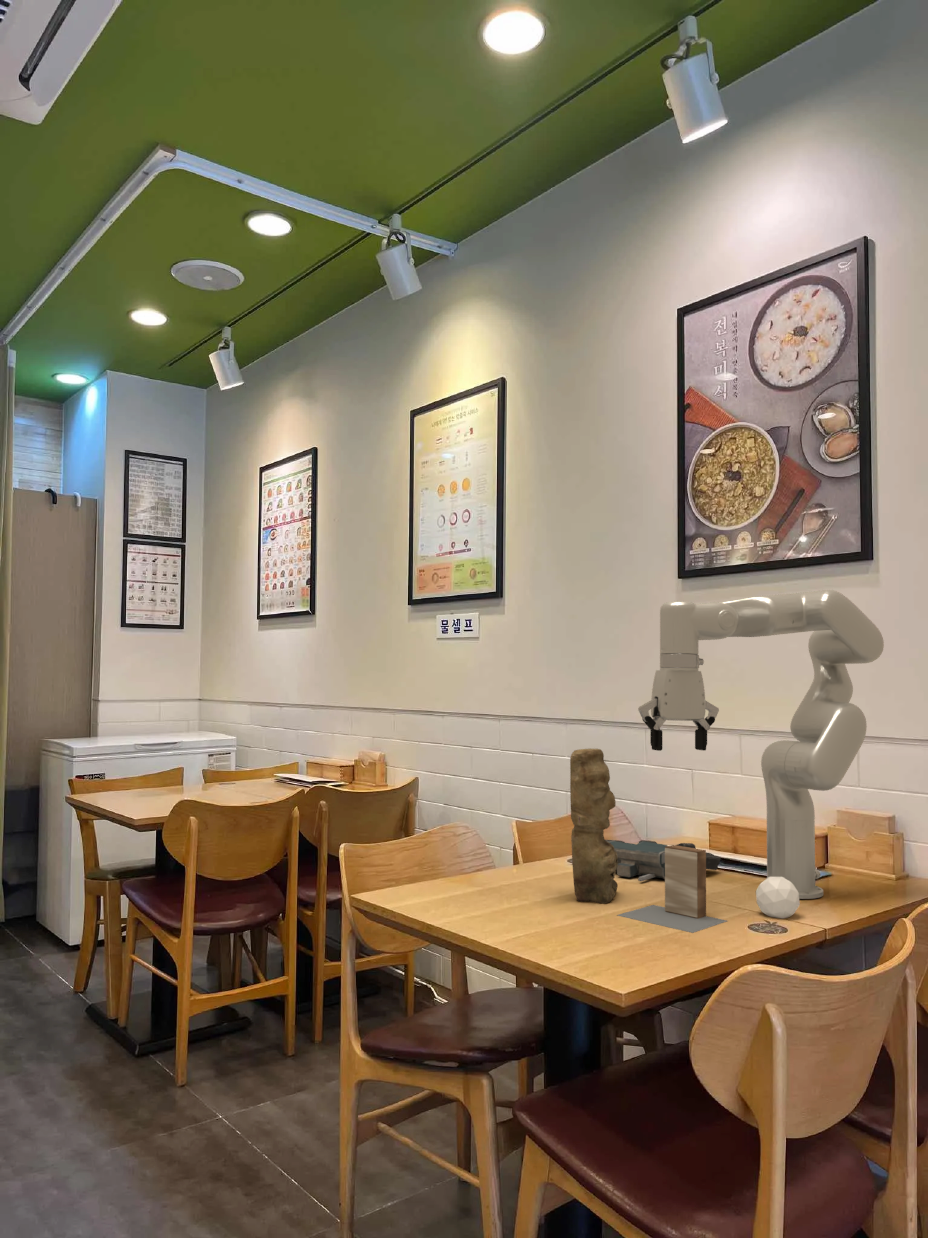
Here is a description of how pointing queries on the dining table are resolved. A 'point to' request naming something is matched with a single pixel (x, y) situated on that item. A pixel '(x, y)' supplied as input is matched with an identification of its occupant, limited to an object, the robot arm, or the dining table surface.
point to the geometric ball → (777, 897)
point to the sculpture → (591, 827)
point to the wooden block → (685, 881)
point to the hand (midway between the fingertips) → (678, 750)
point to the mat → (671, 919)
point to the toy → (648, 859)
